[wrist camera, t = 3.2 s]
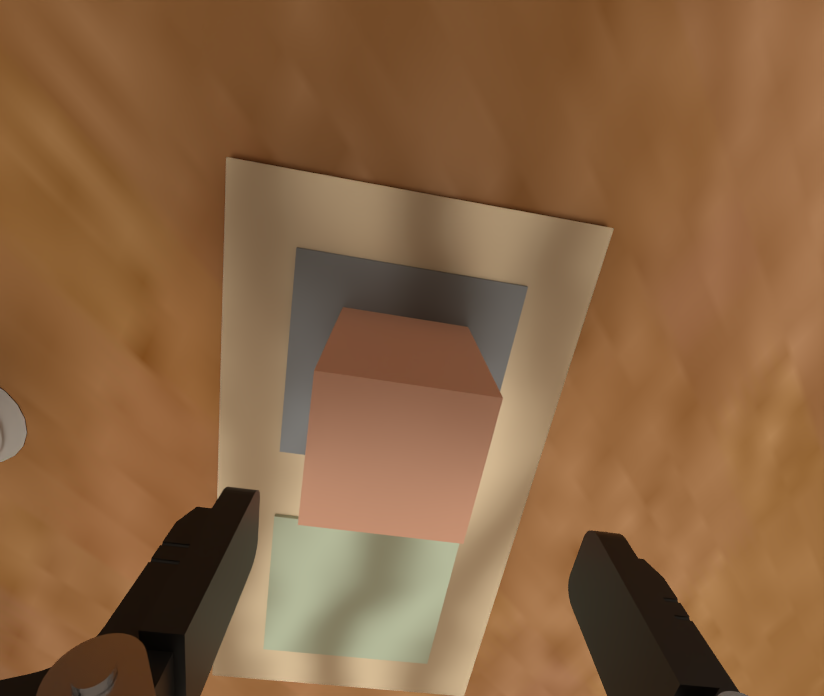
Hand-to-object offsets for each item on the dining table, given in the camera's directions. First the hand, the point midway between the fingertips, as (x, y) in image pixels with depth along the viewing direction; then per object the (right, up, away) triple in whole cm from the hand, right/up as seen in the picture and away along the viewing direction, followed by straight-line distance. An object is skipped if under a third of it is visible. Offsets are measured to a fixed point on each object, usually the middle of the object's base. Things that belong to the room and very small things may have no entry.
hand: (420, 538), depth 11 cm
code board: (-2, -3, +13) cm, 13 cm away
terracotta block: (-1, +3, +10) cm, 10 cm away
